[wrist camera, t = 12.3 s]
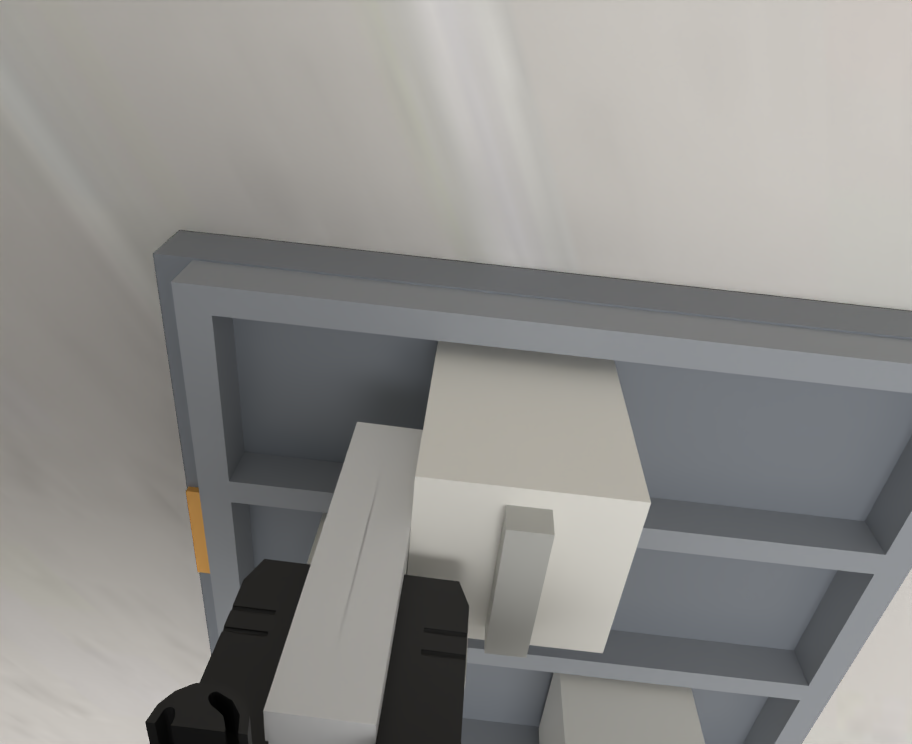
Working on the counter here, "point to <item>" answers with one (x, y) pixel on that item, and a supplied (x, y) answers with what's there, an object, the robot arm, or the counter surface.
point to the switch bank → (655, 432)
